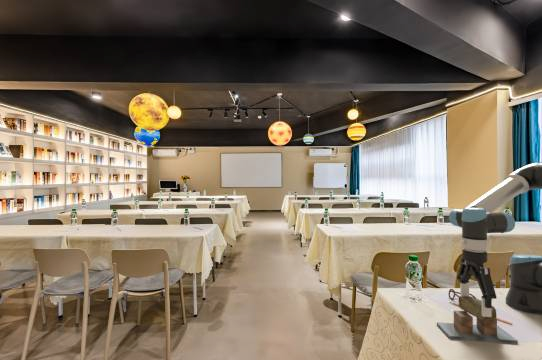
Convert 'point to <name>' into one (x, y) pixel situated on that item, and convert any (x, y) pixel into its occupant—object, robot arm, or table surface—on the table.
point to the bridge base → (474, 329)
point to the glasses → (456, 294)
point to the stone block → (475, 307)
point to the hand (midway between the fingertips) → (475, 307)
